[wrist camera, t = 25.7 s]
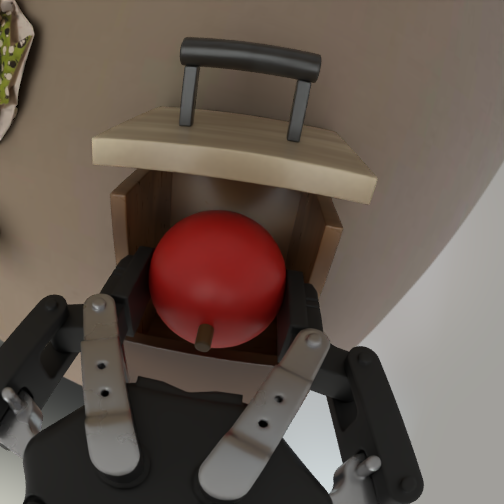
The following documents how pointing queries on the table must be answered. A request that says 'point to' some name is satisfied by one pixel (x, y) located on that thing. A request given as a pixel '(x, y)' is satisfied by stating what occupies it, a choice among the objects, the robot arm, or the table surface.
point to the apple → (217, 279)
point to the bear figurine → (12, 58)
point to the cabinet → (197, 366)
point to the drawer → (234, 170)
